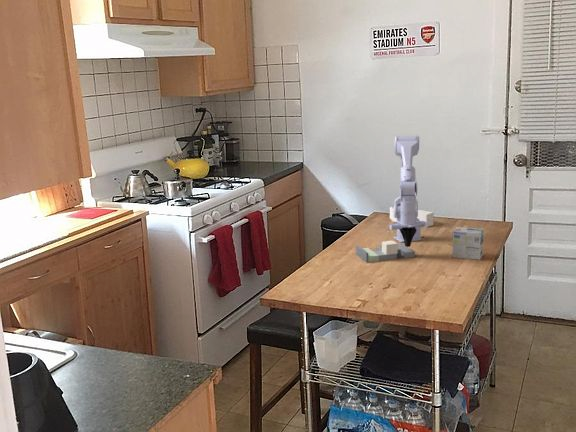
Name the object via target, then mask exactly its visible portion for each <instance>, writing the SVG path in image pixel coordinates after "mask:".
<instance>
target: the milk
mask: <svg viewBox="0 0 576 432" xmlns="http://www.w3.org/2000/svg"><path fill="white" fill-rule="evenodd" d="M434 214H435V213H434V211H427V210H422V209H418V217H417V218H418V219H419V220H420V221H425V222H426V227H425V228H429V227H431V226H434V220H435V219H434ZM389 219H390V220H391V222H392V223H393V222H394V223H397V218H395V217H394V206H389Z"/></svg>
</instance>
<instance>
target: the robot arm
mask: <svg viewBox="0 0 576 432" xmlns="http://www.w3.org/2000/svg"><path fill="white" fill-rule="evenodd" d="M419 151H420V136H419V135H396V136H395V137H394V154H395V156H398V157H399V159H400V183H399V196H398V197H396V198H395V199H394V202H393V207H394V217H395V218H397V222H394V223H391V224H389V230H390V231H394V230H395V231H396V236H393V237H392V238H393V239H395V240H396V241H398V242H400V243H403V244H404V245H405V246H406V247H409V248H410V247H411V245H412V242H415V241H422V237H421V232H422V231H421V229H422V228H427V227H426V222H425V221H420V220H419V219H418V218H417V217H418V210H419V205H418V204H419V203H418V202H419V201H418V200H417V195H418V183H417V182H418V181H417V178H416V167H414V166H413V157H415V156H417V155H418V153H419Z"/></svg>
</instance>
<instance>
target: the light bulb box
mask: <svg viewBox="0 0 576 432" xmlns="http://www.w3.org/2000/svg"><path fill="white" fill-rule="evenodd" d="M484 235H485V234H484V228H474V227H462V226H456V227H455V228H454V229H453V230H452V253H451V254H452V256H451V257H452V258H456V259H457V258H458V259H466V260H468V259H469V260H477V261H478V260H481V259H482V258H483V256H484Z"/></svg>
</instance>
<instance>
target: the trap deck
mask: <svg viewBox="0 0 576 432" xmlns="http://www.w3.org/2000/svg"><path fill="white" fill-rule="evenodd" d="M355 255H356V256H358V258H360V260H361V259H362V261H364V262H365V263H372V262H373V263H374V262H381V261H391V260H400V259H407V258H415V256H416V251H415V250H413V249H412V248H410V247H406V246H405V243H400V244H398V247H397V254H389V255H386V254H385V253H383V252H382V245H380V246H376V247H375V250H372V249H370V248H369V247H363V248H362V247H361V246H360V245H358V244H357V245H355Z"/></svg>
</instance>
